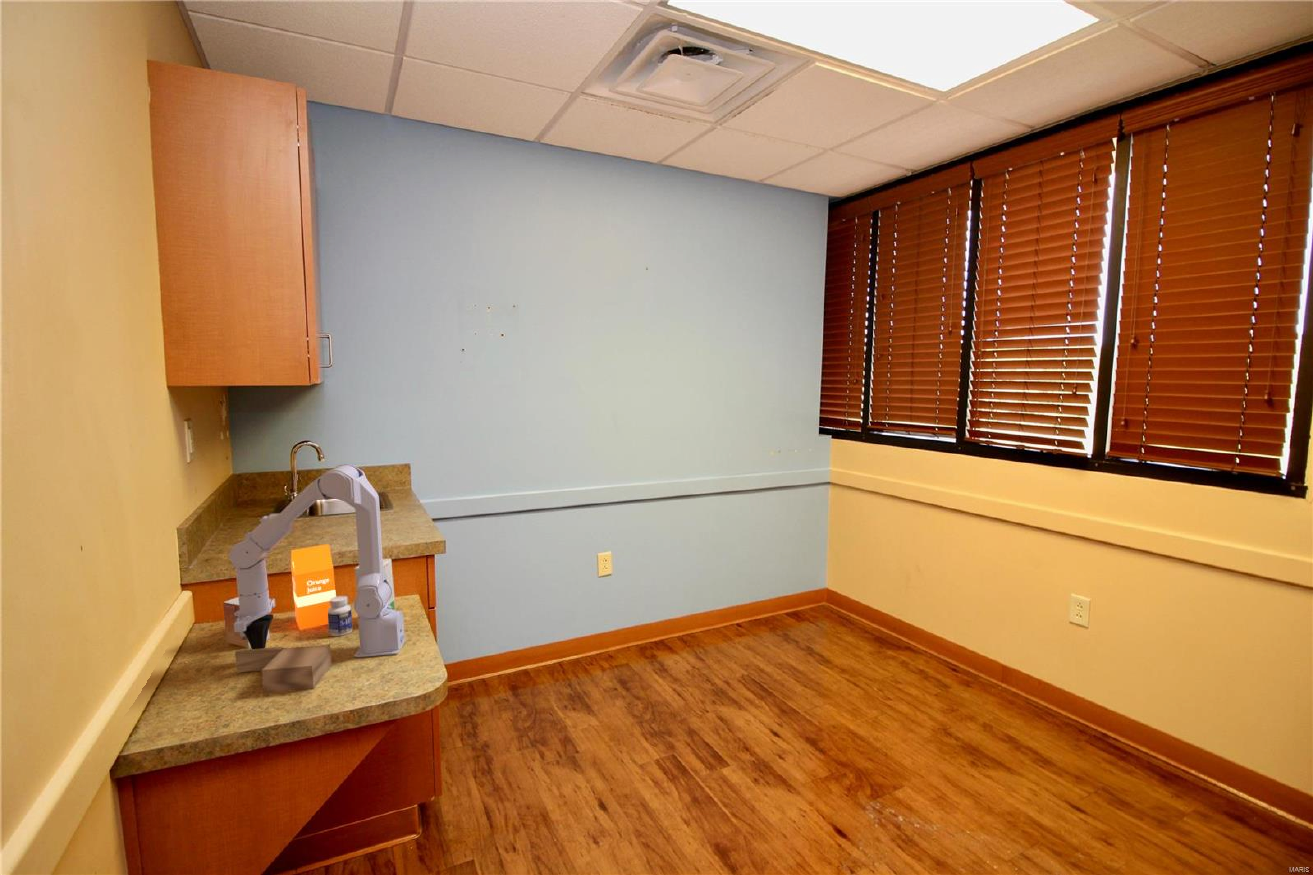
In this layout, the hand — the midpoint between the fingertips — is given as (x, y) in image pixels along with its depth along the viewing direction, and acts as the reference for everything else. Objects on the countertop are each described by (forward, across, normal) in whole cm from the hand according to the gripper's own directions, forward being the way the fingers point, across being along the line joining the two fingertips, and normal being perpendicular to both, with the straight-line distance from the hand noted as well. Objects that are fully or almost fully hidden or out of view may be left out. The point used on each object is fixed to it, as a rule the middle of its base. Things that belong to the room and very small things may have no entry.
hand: (258, 649), depth 141 cm
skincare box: (+3, -19, +20) cm, 28 cm away
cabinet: (+3, +11, +13) cm, 17 cm away
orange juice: (+3, -22, +4) cm, 23 cm away
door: (+2, +5, +3) cm, 6 cm away
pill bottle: (+3, -13, +13) cm, 19 cm away
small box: (+3, -12, -8) cm, 15 cm away
